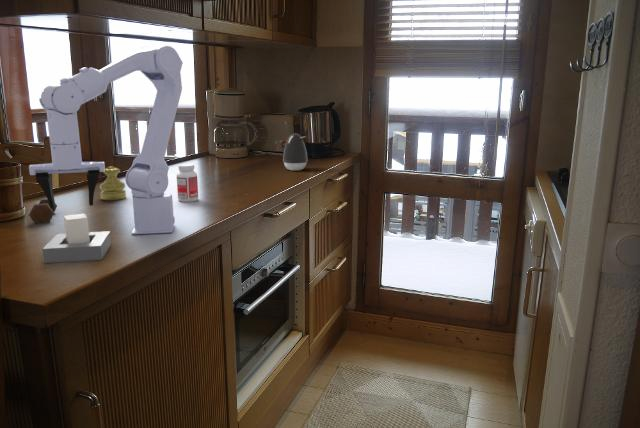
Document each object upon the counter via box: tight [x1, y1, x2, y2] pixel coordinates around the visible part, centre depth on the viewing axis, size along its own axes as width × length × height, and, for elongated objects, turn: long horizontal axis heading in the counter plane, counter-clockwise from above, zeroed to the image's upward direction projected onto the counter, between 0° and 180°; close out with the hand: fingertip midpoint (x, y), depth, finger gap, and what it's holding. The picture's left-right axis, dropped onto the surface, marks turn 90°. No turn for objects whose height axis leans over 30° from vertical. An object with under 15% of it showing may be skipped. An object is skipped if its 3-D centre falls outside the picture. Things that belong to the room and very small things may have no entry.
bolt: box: [28, 198, 58, 225], centre depth 143 cm, size 6×5×15 cm
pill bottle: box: [176, 163, 199, 203], centre depth 162 cm, size 6×6×11 cm
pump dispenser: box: [282, 133, 308, 172], centre depth 220 cm, size 10×10×15 cm
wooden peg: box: [63, 213, 90, 244], centre depth 112 cm, size 4×4×8 cm
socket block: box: [42, 230, 112, 264], centre depth 113 cm, size 11×11×3 cm
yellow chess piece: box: [99, 165, 127, 202], centre depth 165 cm, size 7×7×10 cm
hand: (72, 205), depth 115 cm, fingers open, 7 cm apart
